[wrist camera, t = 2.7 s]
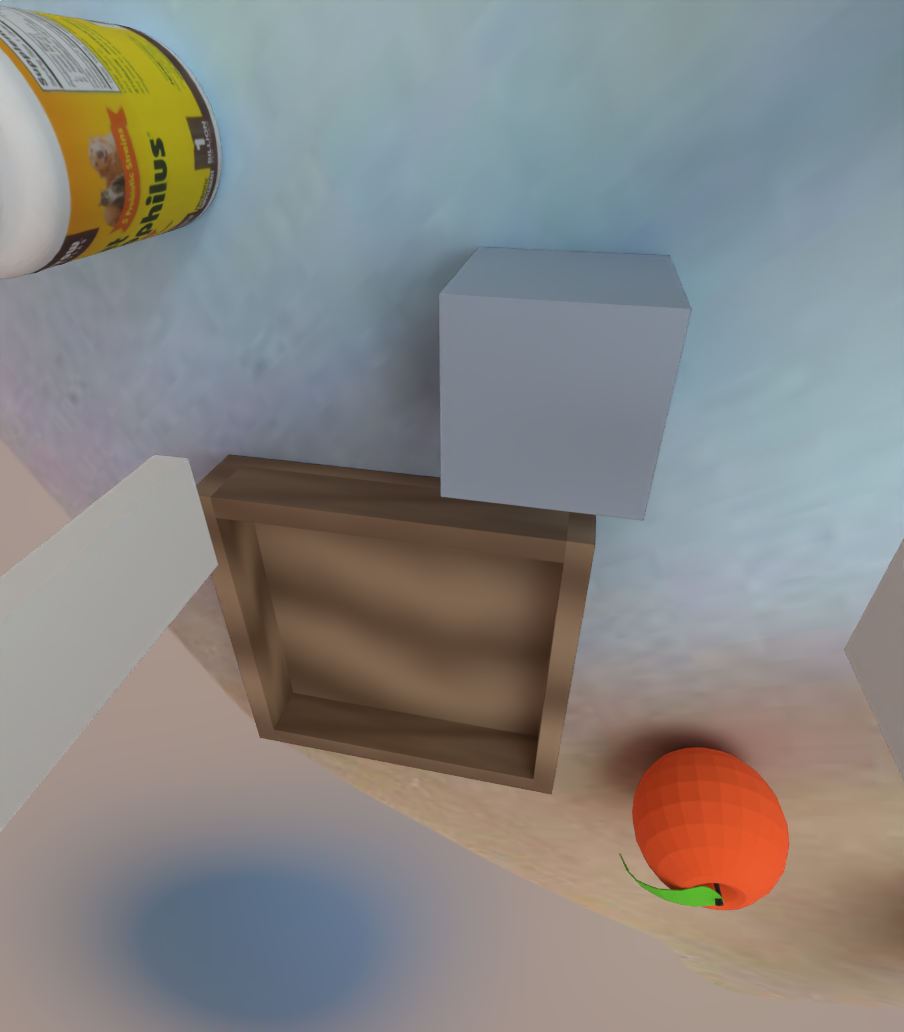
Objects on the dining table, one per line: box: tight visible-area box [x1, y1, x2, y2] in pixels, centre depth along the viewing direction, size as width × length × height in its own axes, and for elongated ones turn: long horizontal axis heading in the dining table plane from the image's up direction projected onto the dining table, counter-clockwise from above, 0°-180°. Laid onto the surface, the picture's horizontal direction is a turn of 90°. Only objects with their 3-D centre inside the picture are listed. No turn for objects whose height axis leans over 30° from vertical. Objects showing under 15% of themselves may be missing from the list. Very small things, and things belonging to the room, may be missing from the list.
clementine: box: [620, 747, 789, 910], centre depth 29 cm, size 8×7×7 cm
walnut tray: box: [196, 455, 596, 794], centre depth 29 cm, size 16×16×3 cm
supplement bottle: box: [0, 6, 222, 279], centre depth 16 cm, size 6×6×10 cm
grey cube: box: [439, 247, 692, 520], centre depth 19 cm, size 6×6×6 cm
